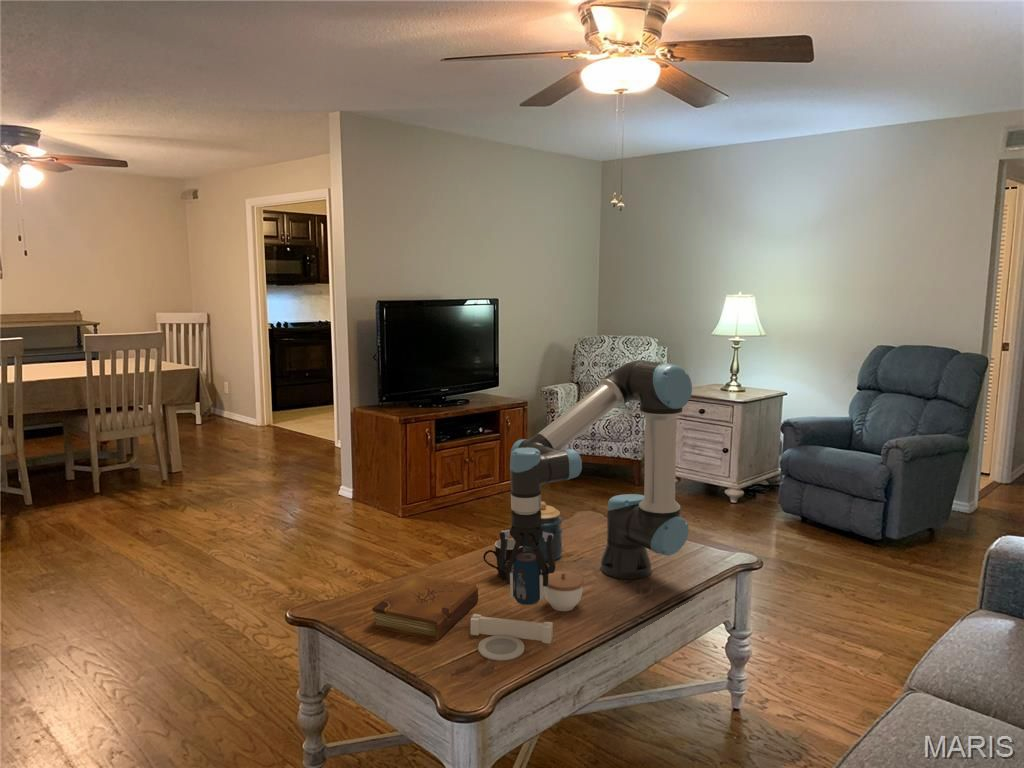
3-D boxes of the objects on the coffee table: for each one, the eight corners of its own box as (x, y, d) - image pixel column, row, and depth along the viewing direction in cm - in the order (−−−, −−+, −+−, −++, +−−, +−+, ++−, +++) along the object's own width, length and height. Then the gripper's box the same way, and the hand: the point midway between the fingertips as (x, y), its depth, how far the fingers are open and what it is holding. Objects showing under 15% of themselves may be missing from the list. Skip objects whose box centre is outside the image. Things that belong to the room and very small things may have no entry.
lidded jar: (556, 618, 186) (556, 584, 185) (535, 602, 196) (536, 569, 194) (590, 610, 191) (591, 576, 190) (569, 594, 201) (569, 562, 199)
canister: (515, 559, 226) (515, 505, 224) (530, 545, 238) (530, 494, 236) (554, 565, 222) (554, 510, 219) (567, 551, 233) (568, 498, 231)
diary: (438, 643, 174) (438, 621, 173) (372, 629, 181) (372, 608, 180) (478, 604, 195) (477, 584, 195) (417, 593, 202) (417, 573, 201)
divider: (552, 637, 176) (552, 622, 176) (550, 643, 173) (550, 628, 173) (473, 629, 180) (473, 614, 180) (470, 634, 177) (470, 619, 177)
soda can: (540, 594, 187) (539, 550, 185) (542, 606, 180) (541, 560, 178) (513, 594, 186) (512, 550, 185) (514, 606, 180) (513, 561, 178)
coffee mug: (524, 571, 217) (525, 539, 216) (522, 582, 208) (522, 549, 207) (486, 569, 218) (486, 537, 217) (482, 581, 210) (482, 548, 208)
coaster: (528, 640, 175) (528, 637, 175) (519, 663, 164) (519, 660, 164) (484, 635, 177) (484, 632, 177) (472, 657, 167) (472, 654, 166)
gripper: (567, 507, 181) (568, 592, 184) (491, 503, 185) (493, 587, 189) (563, 517, 174) (563, 606, 177) (484, 512, 178) (486, 599, 181)
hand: (527, 596), depth 183 cm, fingers closed on soda can, 7 cm apart
